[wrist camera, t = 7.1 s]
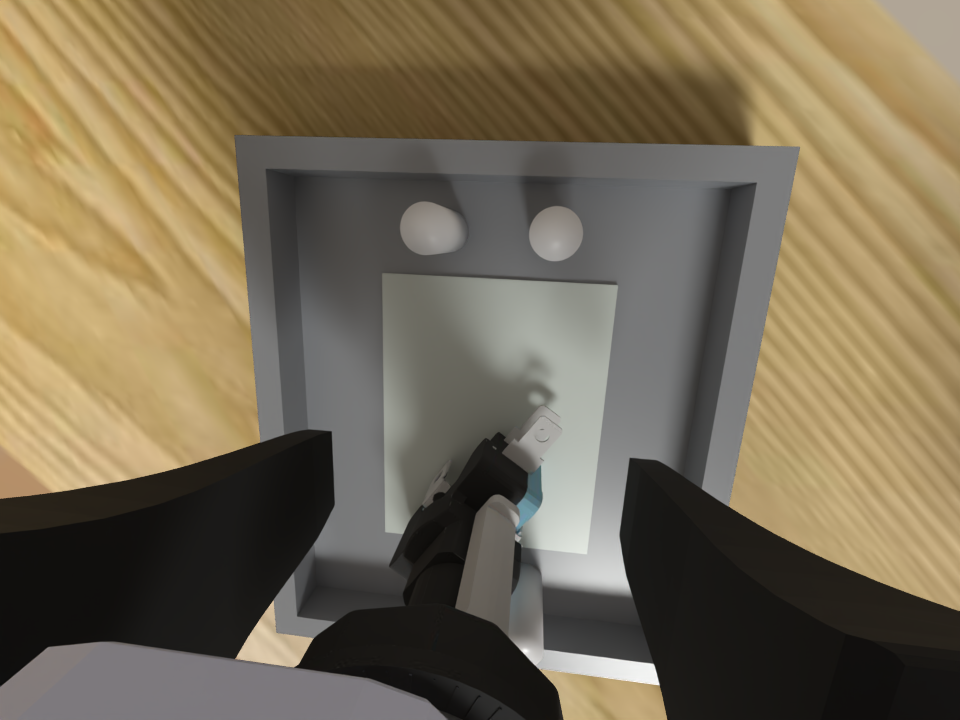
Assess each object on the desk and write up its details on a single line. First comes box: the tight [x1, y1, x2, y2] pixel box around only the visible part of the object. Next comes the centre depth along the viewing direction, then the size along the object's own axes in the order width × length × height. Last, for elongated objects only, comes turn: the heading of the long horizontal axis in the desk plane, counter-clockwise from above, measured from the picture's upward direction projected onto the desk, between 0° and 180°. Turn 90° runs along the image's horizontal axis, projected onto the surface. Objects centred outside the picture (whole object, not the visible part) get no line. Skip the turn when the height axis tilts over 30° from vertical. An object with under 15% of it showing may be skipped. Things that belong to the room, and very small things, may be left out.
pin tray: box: [235, 135, 800, 685], centre depth 14 cm, size 14×16×4 cm
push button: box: [294, 405, 563, 720], centre depth 11 cm, size 7×5×10 cm
